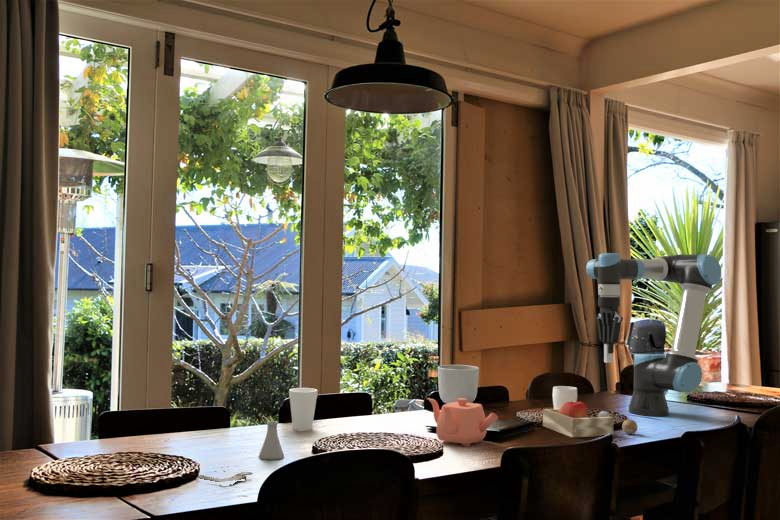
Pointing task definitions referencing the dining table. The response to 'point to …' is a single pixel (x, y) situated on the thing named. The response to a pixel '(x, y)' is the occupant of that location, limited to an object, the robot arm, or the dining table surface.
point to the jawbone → (236, 477)
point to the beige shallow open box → (577, 424)
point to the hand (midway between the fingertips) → (608, 362)
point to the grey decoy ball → (603, 414)
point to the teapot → (461, 422)
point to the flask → (271, 443)
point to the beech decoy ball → (629, 426)
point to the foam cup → (302, 407)
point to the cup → (563, 395)
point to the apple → (574, 409)
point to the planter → (457, 382)
